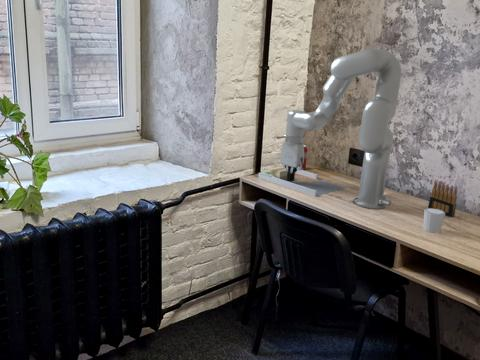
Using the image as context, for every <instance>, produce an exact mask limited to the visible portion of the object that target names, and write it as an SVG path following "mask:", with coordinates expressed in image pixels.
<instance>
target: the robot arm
mask: <svg viewBox="0 0 480 360" xmlns="http://www.w3.org/2000/svg"><path fill="white" fill-rule="evenodd" d="M330 73H331V75H330V76H329V77H328V79H327V80H326V82H325V84H323V86H322V93H323V97H322V99H321V102H320V104H318V106H317V107H316V110H315V111H310V112H304V111H303V110H299V109H291V110H289V111H288V112H287V115H286V116H287V117H286V128H285V134H284V135H283V136H284V137H283V138H285V139H284V141H283V143H282V146H281V150H280V156H279V157H280V158H279V163H280V164H281V165H282V166H283V168H286V172H287V181H289V182H292V181H294V180H295V179H296V178H295V176H296V174H295V172H296V171H297V170H302V166H303V163H304V145H305V144H304V135H305V133H304V132H305V131H306V132H314V131H317V130H320V129H323V128H324V127H326V126H327V125H328V123H329V122H330V120H331V119H332V117H333V116H334V115H335V113H336V111H337V109H338V107H339V104H340V103H341V99H342V98H343V96H345V93H346V92H347V91H348V88H350V86H351V84H352V83H353V82H354V80H355V79H356V77H359V76H363V75H367V74H372V73H375V74H378V75H377V76H378V77H377V81H376V84H375V91H374V97H373V99H371V100H369V101H367V103H366V105H365V106H364V108H363V111H362V115H361V116H362V118H361V123H360V129H359V136H358V143H359V145H360V146H359V147H360V148H361V149H362V151H363V152H364V154H363V155H364V156H363V160H362V167H361V175H360V182H359V189H358V196H357V197H356V198H353V203H354V204H355V205H357V206H359V207H362V208H365V209H372V210H373V209H374V210H378V209H379V210H380V209H384V208H386V207H391V204H392V200H390V199H387V197H386V196H387V195H386V194H385V193H384V192H385V185H386V180H387V172H388V169H389V167H388V166H389V161H390V156H391V151H392V149H393V143H394V134H393V131H392V130H391V129H390V128H389V127H388V123H389V122H390V121H391V120H393V119H394V117H395V115H396V112H397V105H398V98H399V93H400V86H401V80H402V79H401V78H402V67H401V64H400V61H399V59H398V58H397V57H396V56H395V55H394V54H393V53H392V52H390V51H388V50H386V49H381V48H368V49H364V50H360V51H356V52H353V53H349V54H346V55H342V56H338V57H336V58H335V59H334V60H333V61H332V63H331V64H330ZM282 166H281V167H282ZM294 178H295V179H294Z"/></svg>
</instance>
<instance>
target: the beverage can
mask: <svg viewBox="0 0 480 360" xmlns="http://www.w3.org/2000/svg"><path fill="white" fill-rule="evenodd" d="M307 157H308V147H307V145H305V144H304V163H303V166H302V170H304V171H305V169H306V168H307Z"/></svg>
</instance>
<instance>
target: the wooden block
mask: <svg viewBox="0 0 480 360" xmlns="http://www.w3.org/2000/svg"><path fill="white" fill-rule="evenodd" d="M269 171H270V175H272V177H275V178H279V179H282V180H285V179H287V172H286V169H285V167H282V166H279V167H272V168H270V170H269Z"/></svg>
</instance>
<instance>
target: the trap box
mask: <svg viewBox="0 0 480 360" xmlns="http://www.w3.org/2000/svg"><path fill="white" fill-rule="evenodd" d="M284 168H285V167H284ZM285 169H286V168H285ZM270 171H271V170H268V171H267V170H266V171H261V172H258V177H257V180H259V181H260V180H265V181H268V182H271V183H275V184H277V185H279V186H283V187H287V188H290V189H293V190H295V191H299V192H301V193H304V194H308V195H310V196H313V197H317V196H321V195H326V194H328V193H332V192H336V191H341V190H344V189H347V186H346V187H345V186H342V185H339V184H336V183H332V182H329V181H327V180H322V179H318V177H319V174H318V173H313V172H310V171H306V170H305V169H304V170H297V171H296V172H295V175H298V176H296V177H295V178H294V181H292V182H289V181H287V179H285V180H282V179H279V178H275V177H272V175H270ZM303 177H305V178H308V179H310V180H315V181H310V182H306V183H304V182H301V181H300V180H299V181H298V180H296V179H300V178H303Z"/></svg>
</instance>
